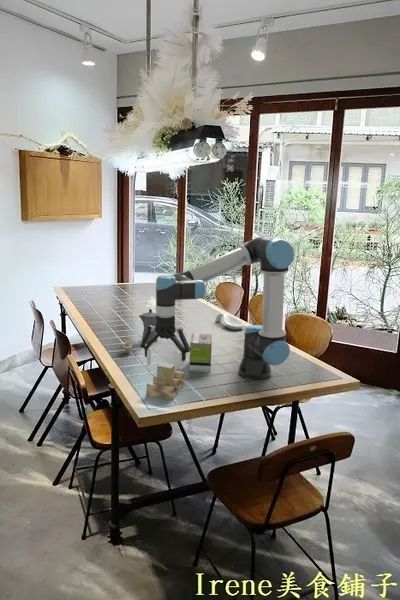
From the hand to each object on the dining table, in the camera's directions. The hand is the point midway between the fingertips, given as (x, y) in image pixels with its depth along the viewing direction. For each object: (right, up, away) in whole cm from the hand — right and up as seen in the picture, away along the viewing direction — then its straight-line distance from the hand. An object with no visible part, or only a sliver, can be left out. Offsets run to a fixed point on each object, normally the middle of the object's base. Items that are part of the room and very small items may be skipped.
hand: (165, 366), depth 189 cm
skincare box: (0, -11, +2) cm, 12 cm away
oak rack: (0, -11, +6) cm, 13 cm away
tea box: (+14, -6, +36) cm, 39 cm away
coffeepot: (-13, +4, +73) cm, 74 cm away
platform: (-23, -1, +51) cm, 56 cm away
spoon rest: (+32, +10, +110) cm, 115 cm away
